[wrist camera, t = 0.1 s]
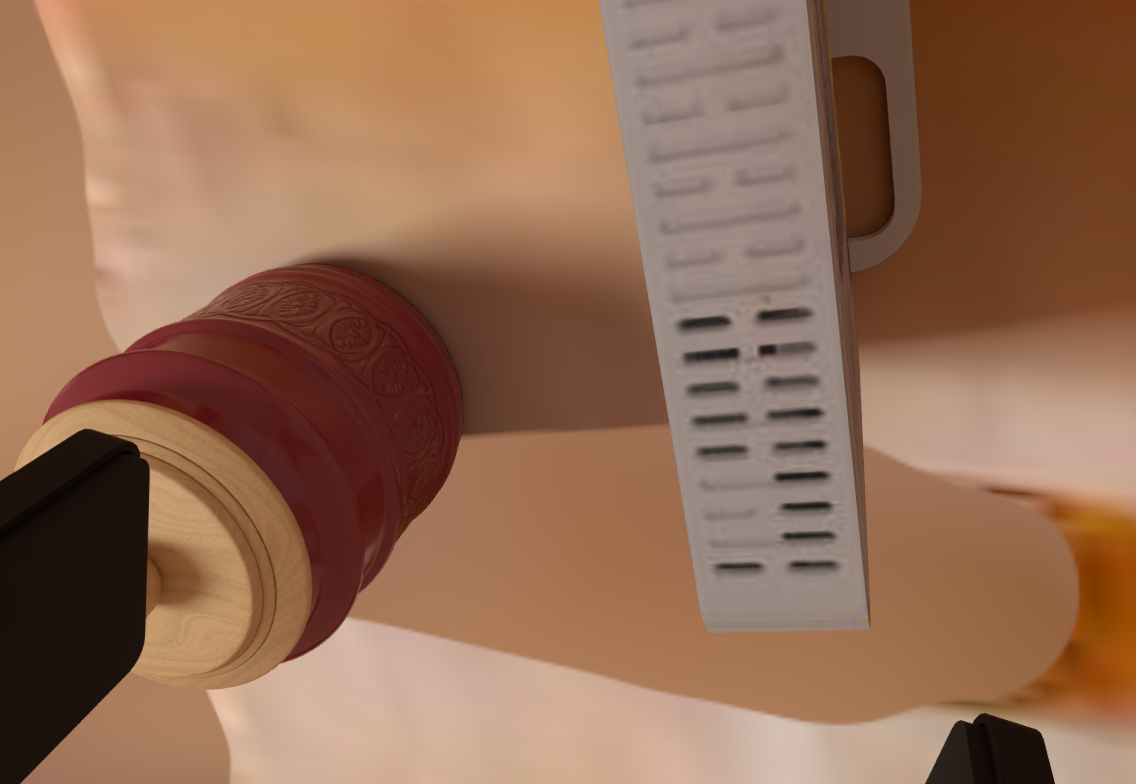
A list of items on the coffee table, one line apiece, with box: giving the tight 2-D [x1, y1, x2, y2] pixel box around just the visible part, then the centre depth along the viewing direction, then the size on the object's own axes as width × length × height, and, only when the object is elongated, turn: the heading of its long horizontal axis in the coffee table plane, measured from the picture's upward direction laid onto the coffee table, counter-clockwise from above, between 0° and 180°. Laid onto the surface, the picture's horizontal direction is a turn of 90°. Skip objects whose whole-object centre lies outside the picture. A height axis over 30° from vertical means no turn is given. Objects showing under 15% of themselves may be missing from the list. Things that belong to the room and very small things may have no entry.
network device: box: [599, 0, 922, 632], centre depth 28 cm, size 26×9×20 cm, turn 11°
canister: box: [14, 264, 463, 689], centre depth 40 cm, size 13×13×18 cm
